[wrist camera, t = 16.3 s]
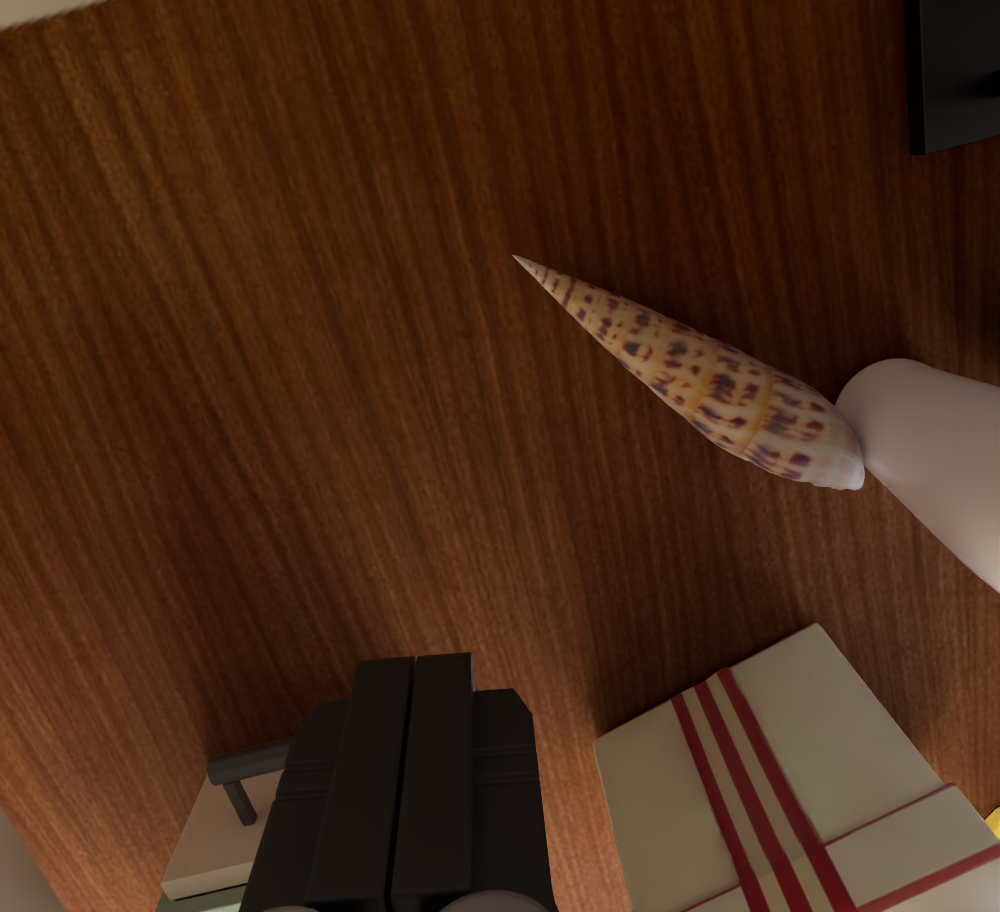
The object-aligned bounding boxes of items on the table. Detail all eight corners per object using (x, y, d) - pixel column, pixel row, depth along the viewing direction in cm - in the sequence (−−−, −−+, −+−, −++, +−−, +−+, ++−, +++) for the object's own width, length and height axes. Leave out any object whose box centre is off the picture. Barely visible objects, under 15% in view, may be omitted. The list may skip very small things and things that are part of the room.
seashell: (791, 487, 38) (837, 532, 33) (489, 287, 34) (493, 306, 29) (851, 417, 37) (907, 452, 32) (545, 201, 32) (558, 205, 28)
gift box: (731, 921, 49) (861, 1292, 33) (567, 747, 43) (627, 1091, 27) (970, 792, 45) (1244, 1132, 29) (826, 585, 40) (1069, 866, 24)
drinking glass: (960, 446, 37) (1257, 610, 23) (827, 491, 38) (1038, 678, 24) (940, 319, 35) (1257, 417, 21) (800, 369, 36) (1015, 497, 22)
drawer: (176, 714, 40) (120, 818, 34) (401, 659, 39) (388, 754, 33) (309, 969, 47) (284, 1095, 41) (501, 926, 47) (507, 1048, 40)
